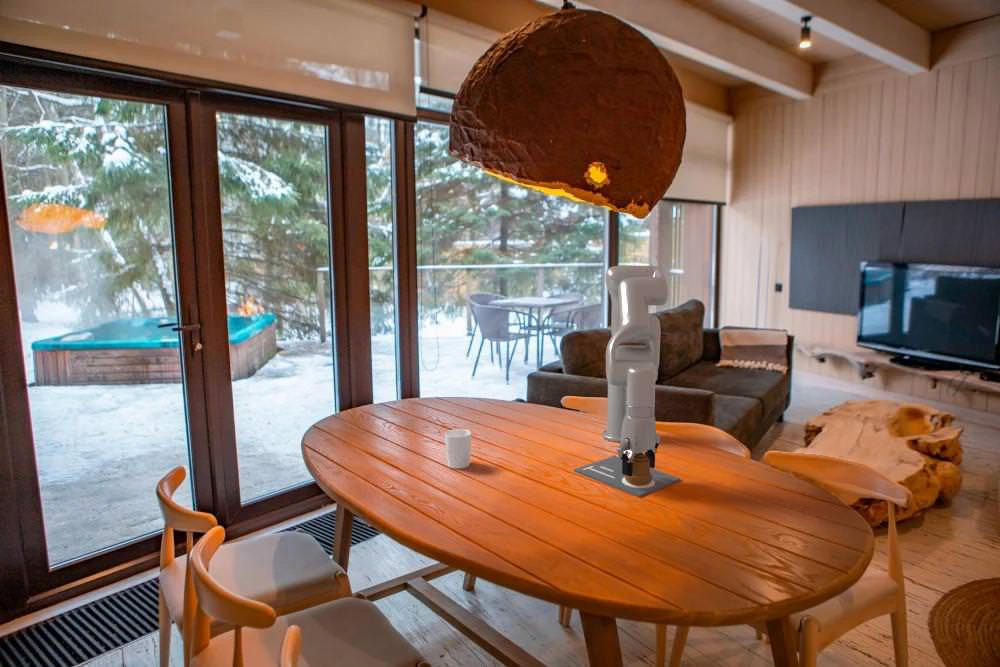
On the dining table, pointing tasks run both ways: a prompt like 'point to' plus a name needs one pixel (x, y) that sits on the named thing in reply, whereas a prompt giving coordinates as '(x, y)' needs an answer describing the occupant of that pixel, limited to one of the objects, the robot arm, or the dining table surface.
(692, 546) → the dining table surface
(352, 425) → the dining table surface
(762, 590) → the dining table surface
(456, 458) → the white cup
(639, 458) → the ornamental finial
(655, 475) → the slate board
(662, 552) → the dining table surface
